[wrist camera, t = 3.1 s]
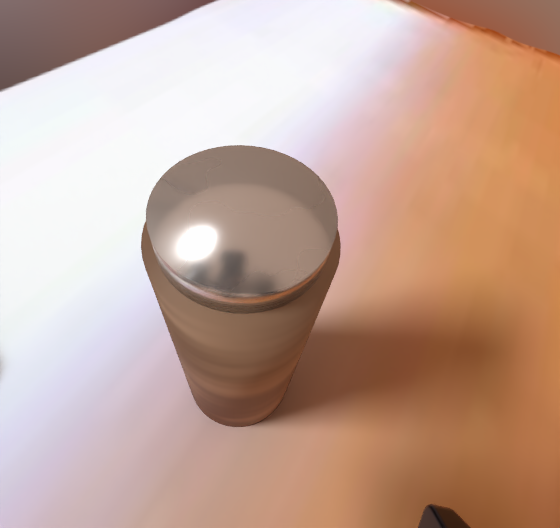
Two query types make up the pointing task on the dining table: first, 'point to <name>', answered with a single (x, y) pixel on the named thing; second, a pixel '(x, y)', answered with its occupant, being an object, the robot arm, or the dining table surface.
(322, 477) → the dining table surface
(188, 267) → the brown metal-capped cylinder
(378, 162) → the dining table surface
